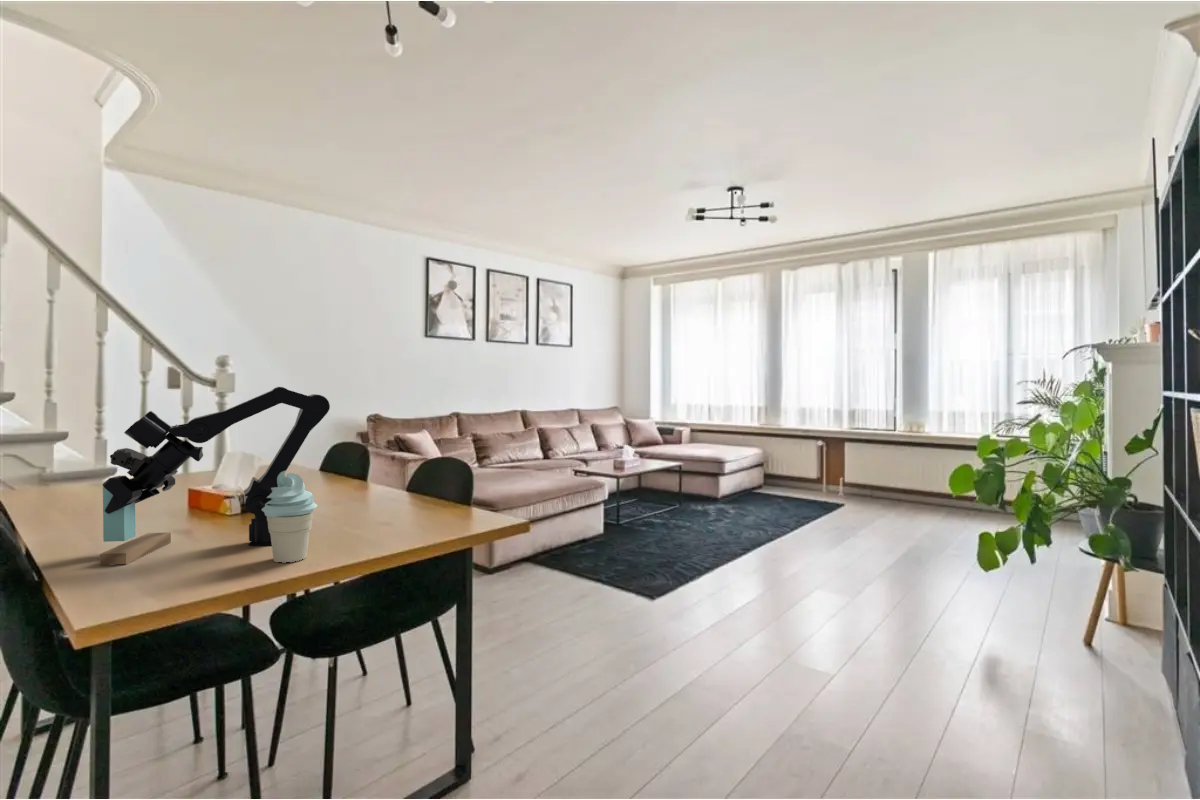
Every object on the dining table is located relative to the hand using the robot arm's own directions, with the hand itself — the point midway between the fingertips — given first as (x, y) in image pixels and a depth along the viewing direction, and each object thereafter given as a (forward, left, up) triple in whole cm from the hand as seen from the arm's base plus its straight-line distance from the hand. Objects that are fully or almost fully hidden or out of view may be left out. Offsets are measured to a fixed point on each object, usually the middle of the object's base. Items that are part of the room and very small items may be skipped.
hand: (112, 510), depth 137 cm
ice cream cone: (-40, +8, -10) cm, 42 cm away
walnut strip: (-5, 0, -10) cm, 11 cm away
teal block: (-1, 0, -7) cm, 7 cm away
